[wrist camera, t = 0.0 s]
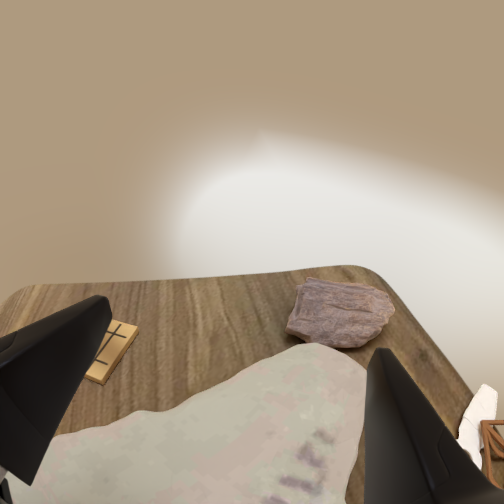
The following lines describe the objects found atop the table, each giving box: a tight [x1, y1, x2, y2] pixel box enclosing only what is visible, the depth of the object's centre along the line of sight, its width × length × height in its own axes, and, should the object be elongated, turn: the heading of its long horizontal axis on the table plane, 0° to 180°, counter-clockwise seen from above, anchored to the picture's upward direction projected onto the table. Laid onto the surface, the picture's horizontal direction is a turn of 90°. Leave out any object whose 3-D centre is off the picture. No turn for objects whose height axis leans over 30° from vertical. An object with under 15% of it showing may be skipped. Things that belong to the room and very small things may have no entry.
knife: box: [456, 384, 498, 470], centre depth 14 cm, size 6×28×1 cm, turn 132°
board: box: [84, 320, 139, 385], centre depth 28 cm, size 8×8×1 cm
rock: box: [284, 277, 395, 348], centre depth 33 cm, size 12×10×5 cm
